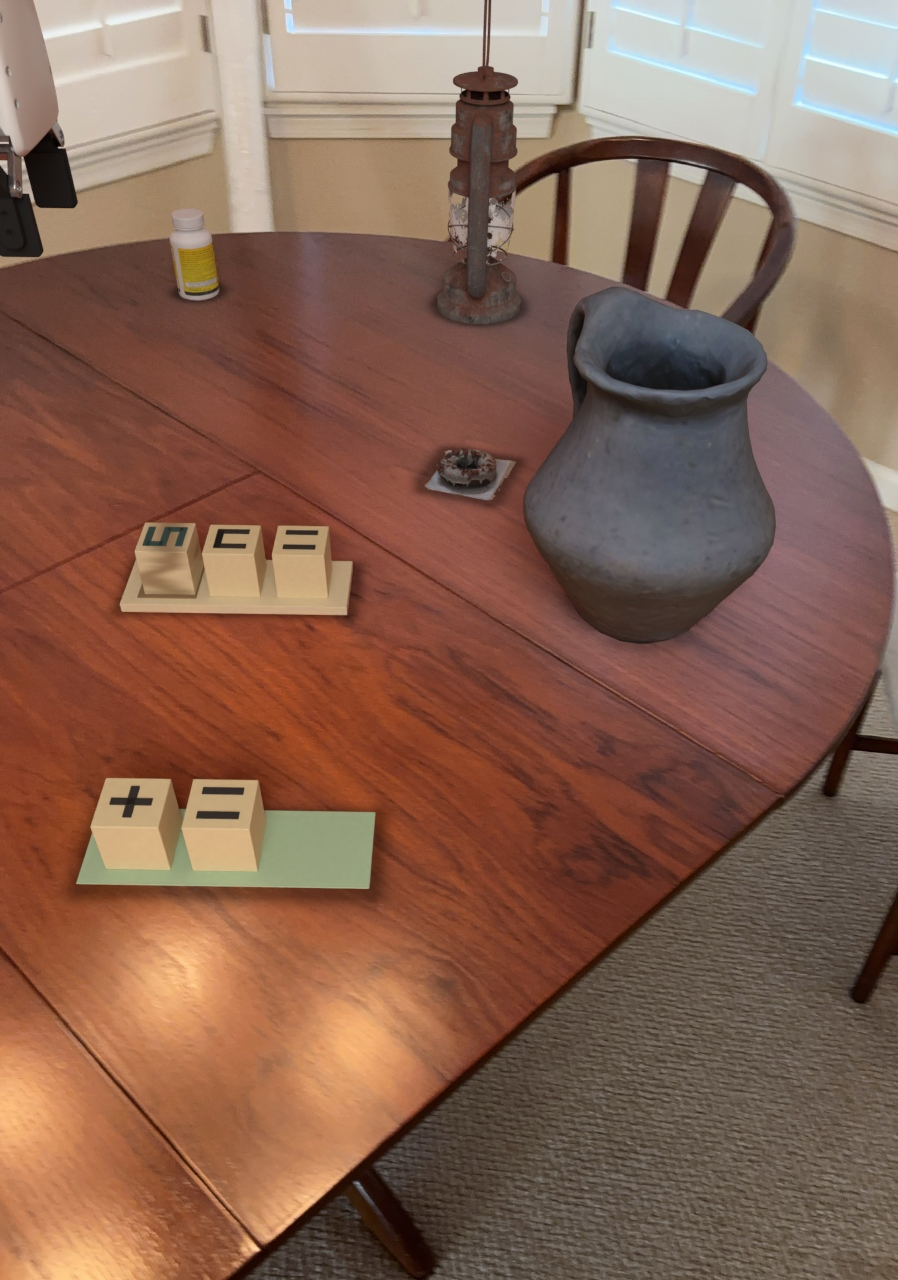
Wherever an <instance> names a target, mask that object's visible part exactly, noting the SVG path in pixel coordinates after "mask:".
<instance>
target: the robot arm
mask: <svg viewBox="0 0 898 1280" xmlns="http://www.w3.org/2000/svg"><path fill="white" fill-rule="evenodd" d="M59 113H60V110H59V103H58V96H57V91H56V85H55V80H54V76H53V71H52V66H51V62H50V58H49V55H48V50H47V46H46V42H45V38H44V34H43V31H42V27H41V23H40V20H39V16H38V11H37V9H36V6H35V2H34V0H0V161H6V165H7V167H6V168H7V172H6V171H5V169H4V168H3V166H1V165H0V257H3V258H40V257H41V256H42V255H43V253H44V246H43V242H42V238H41V235H40V231H39V227H38V223H37V219H36V215H35V211H34V207H33V204H32V200H31V195H30V193H23V163H22V162H23V161H24V166H25V169H26V173H27V177H28V182H29V184H30V185H29V186H30V189H31V193H32V197H33V200H34V204H35V206H36V207H38V208H40V209H75V208H76V207H77V206H78V203H79V200H78V195H77V192H76V188H75V183H74V178H73V174H72V169H71V164H70V161H69V157H68V152H67V148H65V144H66V142H65V141H66V140H65V134H64V132H63V130H62V127H61V126H60V124H59V121H58V119H59ZM22 159H23V161H22Z"/></svg>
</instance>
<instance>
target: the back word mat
mask: <svg viewBox="0 0 898 1280" xmlns="http://www.w3.org/2000/svg"><path fill="white" fill-rule="evenodd" d="M331 548H332V547H331V535H330V526H329V525H328V526H327V525H277V528H276V534H275V538H274V543H273V547H272V552H271V559H267V558H266V552H265V544H264V538H263V530H262V526H261V524H260V525H257V524H256V525H255V524H210V525H209V528H208V532H207V535H206V538H205V542H204V545H203V548H202V551H201V553H202V559H203V564H204V566H203V570H202V573H201V577H200V580H199V584H198V587H197V590H196V594H195V595H168V594H145V592H144V588H143V584H142V580H141V576H140V572H139V568H138V564H137V560H136V559H135V561H134V563H133V566H132V568H131V569H132V570H131V572H130V574H129V577H128V580H127V583H126V586H125V588H124V591H123V593H122V596H121V599H120V601H119V607H120V611H121V612H122V613H126V612H127V613H178V614H179V613H186V614H187V613H188V614H189V613H190V614H241V615H243V614H246V615H247V614H248V615H250V614H251V615H252V614H253V615H308V616H309V615H315V616H348V613H349V604H350V597H351V589H352V581H353V574H354V563H353V561H352V560H333V559H332V549H331Z"/></svg>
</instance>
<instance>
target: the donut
mask: <svg viewBox="0 0 898 1280" xmlns="http://www.w3.org/2000/svg"><path fill="white" fill-rule="evenodd" d="M444 453H445V454H444V455H443V456H441V459H440V460H439V463H437V464H435V467H436V470H435V472H434V473H433V474H432V476H431V478H430V480H428V482H426V483H425V484H424V487H425V488H426V490H429V491H437V492H442V493H446V494H451V495H455V496H461V497H466V498H472V499H478V500H483V501H487V502H488V501H492V500H493V499H494V497H496V495H495V494H496V493H497V491H498V492H500V490H501V488H499V487H500V486H502V483H503V482H504V480H505V479H508V477H509V475H510V474H511V472H512V470H513V469H514V467H515V465H516V463H517V461H514V460H510V459H500V458H495V457H493V455H492V454H490V453H489V452H487V451H485V450H481V449H478V448H477V449H475V448H468V447H467V448H464V447H462V448H460V449H456V450H451V449H447V450H445V451H444ZM457 484H458V485H459V486H456V485H457Z"/></svg>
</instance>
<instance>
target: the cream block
mask: <svg viewBox="0 0 898 1280" xmlns="http://www.w3.org/2000/svg"><path fill="white" fill-rule="evenodd" d="M133 551H134V555H135V561H136V560H137V564H138V568H139V572H140V576H141V580H142V584H143V588H144V592H145V594H168V595H195V594H196V590H197V587H198V584H199V580H200V577H201V573H202V570H203V566H204V564H203V558H202V549H201V544H200V538H199V533H198V528H197V524H196V522H150V521H148V522H145V523H144V524H143V526H142V530H141V533H140V535H139V538H138V540H137V543H136V546H135V549H134V550H133Z"/></svg>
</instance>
